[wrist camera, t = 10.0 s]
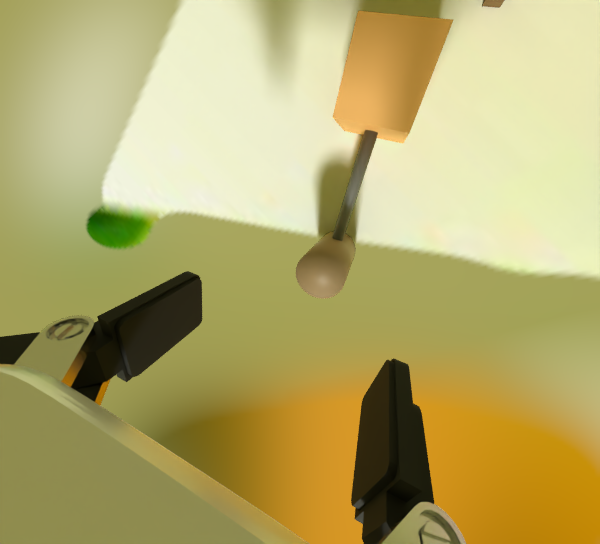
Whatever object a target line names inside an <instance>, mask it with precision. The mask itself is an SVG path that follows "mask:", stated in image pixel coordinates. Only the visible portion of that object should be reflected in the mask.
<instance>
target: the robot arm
mask: <svg viewBox="0 0 600 544" xmlns="http://www.w3.org/2000/svg"><path fill="white" fill-rule="evenodd" d="M98 320H99V321H97V322H95V323H94V321H93V319H91V318H90V317H87V316H70V317H67V318H62V319H60V320H58V321H55V322H53V323H51V324H49V325H48V326H46V327H45V328H44V329H43V330H42V331H41V332H39V333H30V334H21V335H13V336H4V337H0V544H309V543H308V542H306V541H305V540H303V539H302V538H300V537H299V536H297V535H296V534H294V533H293V532H292V531H290V530H289V529H287V528H286V527H284V526H283V525H281V524H280V523H278V522H277V521H276V520H274V519H273V518H271V517H270V516H268V515H267V514H265V513H264V512H262V511H261V510H259V509H258V508H256V507H255V506H253V505H252V504H250V503H249V502H247V501H245V500H244V499H242V498H241V497H239V496H238V495H236V494H235V493H233V492H232V491H230V490H229V489H227V488H226V487H224V486H223V485H221V484H220V483H218V482H217V481H215V480H214V479H212V478H211V477H209V476H208V475H206V474H205V473H203V472H202V471H200V470H198V469H197V468H195V467H194V466H192V465H191V464H189V463H188V462H186V461H185V460H183V459H182V458H180V457H179V456H177V455H175V454H174V453H172V452H171V451H169V450H168V449H166V448H165V447H163V446H162V445H160V444H159V443H157V442H156V441H154V440H152V439H151V438H149V437H148V436H146V435H145V434H143V433H142V432H140V431H139V430H137V429H136V428H134V427H132V426H131V425H129V424H128V423H126V422H125V421H123V420H122V419H120V418H118V417H117V416H115V415H114V414H112V413H111V412H109V411H108V410H106V409H104V408H103V407H101V406H100V405H101V403H102V400H103V397H104V395H105V392H106V390H107V387H108V384H109V382H110V379H111V378H112V377H113V376H115V375H116V374H117V376H118V377H119V378H121V379H122V380H124V381H126V382H127V381H128V380H130V379H131V378H132V377H135V376H138V375H139V374H141V373H142V372H143V371H144V370H145V369H147V368H148V367H149V366H150V365H152V364H153V363H154V362H155V361H156V360H158V359H159V358H160V357H161V356H162V355H164V354H165V353H166V352H167V351H169V350H170V349H171V348H172V347H173V346H175V345H176V344H177V343H178V342H179V341H181V340H182V339H183V338H184V337H185V336H187V335H188V334H189V333H190V332H192V331H193V330H194V329H195V328H196V327H197V326H199V324H200V323H201V321H202V282H201V280H200V277H199V276H198V275H196V274H193V273H191V272H184V273H182V274H180V275H178V276H176V277H175V278H173V279H170V280H169V281H167V282H165V283H163V284H161V285H159V286H157V287H155V288H153V289H151V290H149V291H147V292H145V293H143V294H141V295H139V296H137V297H135V298H133V299H131V300H129V301H127V302H125V303H123V304H121V305H119V306H117V307H115V308H113V309H111V310H109V311H107V312H105V313H104V314H101V315H99V316H98ZM427 456H428V455H427V448H426V441H425V434H424V427H423V421H422V413H421V410H420V408H419V406H417V405H415V404H413V400H412V391H411V382H410V372H409V366H408V364H405V363H403V362H401V361H398V360H396V359H392V360H391V361H389V360H386V362H385V363H384V365H383V367H382V368H381V370H380V371H379V373H378V375H377V377H376V378H375V379H374V381H373V383H372V384H371V386H370V388H369V389H368V391H367V392H366V394H365V396H364V398H363V401H362V406H361V416H360V425H359V434H358V443H357V452H356V461H355V470H354V480H353V489H352V499H351V501H352V502H351V503H352V506H354V507H356V510H355V519H356V520H357V521H359V522H361V523H362V524H363V533H362V540H363V542H364V544H466V543H465V540H464V538H463V536H462V534H461V532H460V531H459V529H458V527H457V526H456V524H455V523H454V522H453V520H452V519H451V518H450V517H449V516H448V515H447V513H446V512H444V511H443V510H442V509H440V508H439V507H438V506H437V505H434V498H433V491H432V484H431V477H430V470H429V463H428V457H427Z"/></svg>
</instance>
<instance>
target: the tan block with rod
mask: <svg viewBox="0 0 600 544" xmlns="http://www.w3.org/2000/svg"><path fill="white" fill-rule="evenodd" d="M452 22H453V20H450V19H440V18H429V17H419V16H409V15H398V14H388V13H378V12H367V11H358V14H357V18H356V22H355V26H354V30H353V35H352V39H351V43H350V47H349V51H348V55H347V60H346V64H345V68H344V72H343V76H342V81H341V85H340V89H339V93H338V97H337V101H336V106H335V110H334V114H333V118H334V119H335V121H336V122H337V123H338V124H339V125H340V126H341V127H342V129H343V130H344V131H348V132H352V133H357V134H362V135H363V138H362V141H361V144H360V148H359V151H358V154H357V158H356V161H355V164H354V167H353V171H352V174H351V177H350V181H349V184H348V187H347V190H346V194H345V197H344V200H343V203H342V207H341V210H340V213H339V217H338V220H337V223H336V226H335V230H334V232H329V233H327V234H326V235H324V236H323V237H322V238H321V239H320V240H319V241H318V243H316V244H315V245H314V246H313V247H312V248H311V249H310V250H309V251H308V252H307V253H306V255H304V256H303V257H302V259H301V260H300V261H299V262H298V264H297V267H296V278H297V280H298V283H299V285H300V286H301V288H302V289H303V290H304V291H305V292H307V293H308V294H310V295H311V296H313V297H317V298H330V297H333V296H335V295H336V294H338V293H339V292H340V290H341V289H342V288H343V286H344V283H345V281H346V278H347V275H348V272H349V270H350V267H351V264H352V261H353V259H354V255H355V244H354V242H353V240H352V239H351V238H350V237H349V236H348V235H347V234H345V232H346V229H347V226H348V223H349V220H350V217H351V214H352V211H353V207H354V204H355V201H356V198H357V195H358V192H359V189H360V186H361V183H362V180H363V177H364V174H365V171H366V168H367V165H368V162H369V159H370V156H371V153H372V150H373V147H374V144H375V141H376V138H380V139H385V140H389V141H394V142H399V143H404V141H405V139H406V138H407V136H408V134H409V132H410V130H411V127H412V125H413V122H414V120H415V117H416V115H417V112H418V109H419V107H420V104H421V102H422V99H423V97H424V94H425V91H426V89H427V86H428V84H429V81H430V79H431V76H432V73H433V71H434V68H435V66H436V63H437V61H438V58H439V55H440V53H441V50H442V48H443V45H444V43H445V40H446V37H447V35H448V32H449V30H450V27H451V25H452Z"/></svg>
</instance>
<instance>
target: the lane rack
mask: <svg viewBox="0 0 600 544" xmlns="http://www.w3.org/2000/svg"><path fill="white" fill-rule="evenodd" d="M503 2H504V0H484V3H483V5H482V6H488V7H500V6H501V5H502V3H503Z"/></svg>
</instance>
